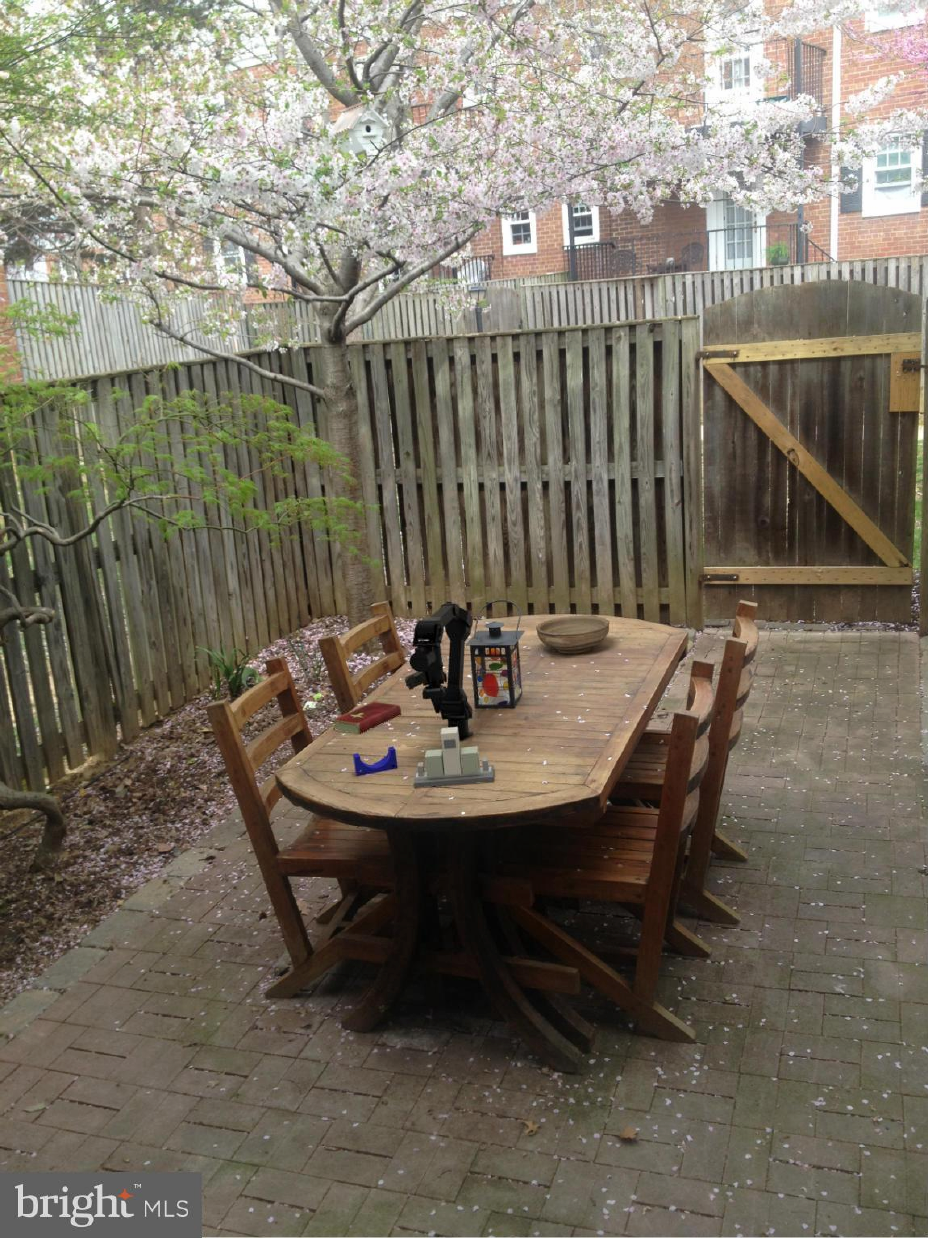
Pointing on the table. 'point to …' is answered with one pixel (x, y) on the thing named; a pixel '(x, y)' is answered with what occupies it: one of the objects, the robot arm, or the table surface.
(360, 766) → the blue cradle stand
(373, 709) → the hardcover book
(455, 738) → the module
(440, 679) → the robot arm
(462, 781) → the rail board
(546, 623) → the ceramic bowl
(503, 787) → the table surface
